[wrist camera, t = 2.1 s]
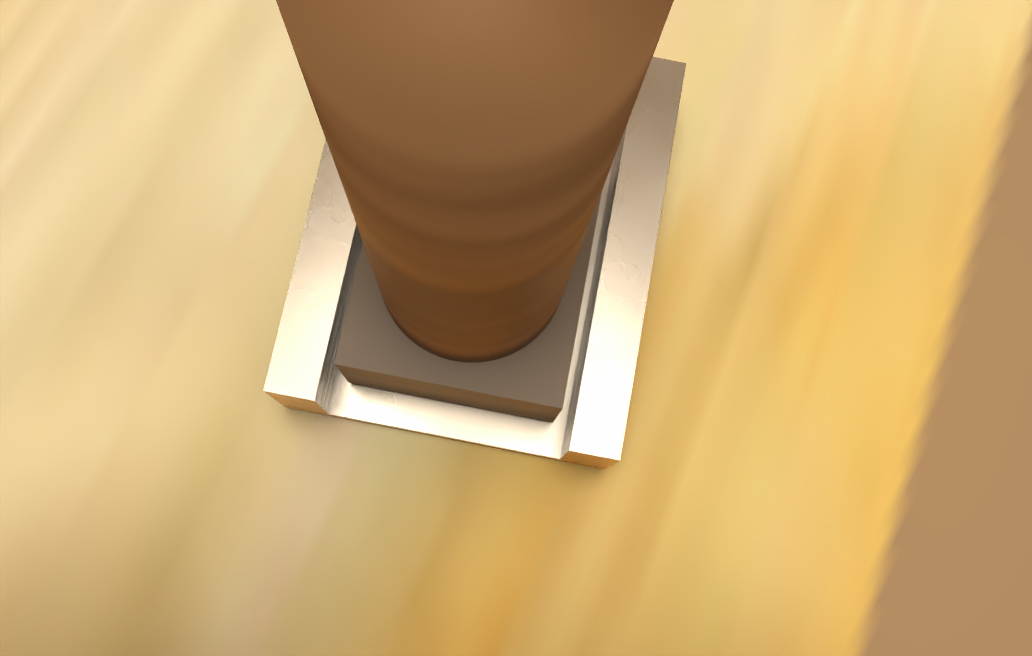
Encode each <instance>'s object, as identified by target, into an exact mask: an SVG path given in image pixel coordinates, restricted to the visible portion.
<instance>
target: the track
mask: <svg viewBox="0 0 1032 656" xmlns="http://www.w3.org/2000/svg"><path fill="white" fill-rule="evenodd" d="M685 67H686V63H682V62H676V61H671V60H666V59H661V58H656V57H652V59H651V62H650V65H649V67H648V70H647V72H646V75H645V78H644V80H643V83H642V86H641V88H640V91H639V94H638V96H637V99H636V102H635V104H634V107H633V110H632V112H631V115H630V118H629V120H628V123H627V126H626V128H625V131H624V133H623V136H622V139H621V141H620V144H619V147H618V149H617V152H616V155H615V157H614V160H613V163H612V165H611V168H610V171H609V173H608V176H607V179H606V181H605V184H604V187H603V189H602V194H601V200H600V205H599V211H598V216H597V222H596V227H595V233H594V239H593V244H592V250H591V255H590V261H589V266H588V272H587V277H586V283H585V288H584V294H583V299H582V305H581V310H580V316H579V322H578V327H577V333H576V338H575V344H574V349H573V355H572V360H571V366H570V371H569V377H568V382H567V388H566V393H565V399H564V404H563V409H562V410H561V412H560V413H559V415H558V416H557V418H556V419H555V420H554V422H553V423H551V422H546V421H540V420H535V419H530V418H525V417H520V416H515V415H510V414H505V413H500V412H494V411H489V410H484V409H479V408H474V407H469V406H464V405H459V404H453V403H448V402H443V401H438V400H433V399H428V398H423V397H418V396H413V395H407V394H402V393H397V392H392V391H387V390H382V389H377V388H372V387H366V386H361V385H356V384H351V383H349V382H348V381H347V380H346V379H345V377H344V376H343V375H342V373H341V372H340V371H339V369H338V368H337V367H336V366H335V364H334V363H335V359H336V355H337V351H338V346H339V342H340V338H341V334H342V329H343V325H344V321H345V317H346V312H347V308H348V304H349V299H350V295H351V291H352V287H353V282H354V278H355V274H356V270H357V265H358V261H359V257H360V253H361V248H362V244H363V241H362V238H361V235H360V233H359V230H358V227H357V224H356V222H355V219H354V216H353V213H352V210H351V208H350V205H349V202H348V199H347V196H346V194H345V191H344V188H343V185H342V182H341V180H340V177H339V174H338V171H337V169H336V166H335V163H334V160H333V157H332V155H331V152H330V149H329V146H328V143H327V141H325V145H324V149H323V153H322V157H321V161H320V165H319V169H318V173H317V177H316V181H315V185H314V189H313V193H312V197H311V201H310V205H309V209H308V213H307V217H306V221H305V225H304V229H303V233H302V237H301V241H300V245H299V249H298V253H297V257H296V261H295V265H294V269H293V273H292V277H291V281H290V285H289V289H288V293H287V297H286V301H285V306H284V310H283V314H282V318H281V322H280V326H279V330H278V334H277V338H276V342H275V346H274V350H273V354H272V358H271V362H270V366H269V370H268V374H267V378H266V382H265V386H264V390H263V391H264V392H266V393H267V394H268V395H270V396H271V397H273V398H274V399H275V400H277V401H278V402H279V403H281V404H282V405H284V406H285V407H289V408H294V409H300V410H305V411H310V412H315V413H320V414H325V415H330V416H335V417H341V418H346V419H351V420H356V421H361V422H366V423H371V424H376V425H382V426H387V427H392V428H397V429H402V430H407V431H412V432H417V433H422V434H428V435H433V436H438V437H443V438H448V439H453V440H458V441H463V442H469V443H474V444H479V445H484V446H489V447H494V448H499V449H504V450H510V451H515V452H520V453H525V454H530V455H535V456H540V457H545V458H551V459H556V460H561V461H566V462H571V463H576V464H581V465H586V466H591V467H597V468H602V469H605V468H607V467H609V466H611V465H613V464H614V463H616V462H618V461H620V458H621V452H622V446H623V440H624V434H625V428H626V422H627V416H628V410H629V404H630V398H631V392H632V386H633V380H634V374H635V368H636V362H637V356H638V350H639V344H640V338H641V332H642V326H643V320H644V314H645V308H646V302H647V296H648V290H649V283H650V277H651V271H652V265H653V259H654V253H655V247H656V241H657V235H658V229H659V223H660V217H661V211H662V205H663V199H664V193H665V187H666V181H667V175H668V169H669V163H670V157H671V151H672V145H673V139H674V133H675V127H676V121H677V115H678V109H679V103H680V97H681V91H682V85H683V79H684V73H685Z"/></svg>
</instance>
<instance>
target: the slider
mask: <svg viewBox="0 0 1032 656" xmlns="http://www.w3.org/2000/svg"><path fill="white" fill-rule="evenodd" d="M276 1H277V4H278V7H279V10H280V12H281V15H282V18H283V21H284V23H285V26H286V29H287V32H288V35H289V37H290V40H291V43H292V46H293V49H294V51H295V54H296V57H297V60H298V63H299V65H300V68H301V71H302V74H303V76H304V79H305V82H306V85H307V88H308V90H309V93H310V96H311V99H312V102H313V104H314V107H315V110H316V113H317V116H318V118H319V121H320V124H321V127H322V129H323V132H324V135H325V138H326V141H327V143H328V146H329V149H330V152H331V155H332V157H333V160H334V163H335V166H336V169H337V171H338V174H339V177H340V180H341V182H342V185H343V188H344V191H345V194H346V196H347V199H348V202H349V205H350V208H351V210H352V213H353V216H354V219H355V222H356V224H357V227H358V230H359V233H360V235H361V238H362V241H363V244H362V248H361V253H360V257H359V261H358V265H357V270H356V274H355V278H354V282H353V287H352V291H351V295H350V299H349V304H348V308H347V312H346V317H345V321H344V325H343V329H342V334H341V338H340V342H339V346H338V351H337V355H336V359H335V363H334V364H335V366H336V367H337V368H338V369H339V371H340V372H341V373H342V375H343V376H344V377H345V379H346V380H347V381H348V382H349V383H351V384H356V385H361V386H366V387H372V388H377V389H382V390H387V391H392V392H397V393H402V394H407V395H413V396H418V397H423V398H428V399H433V400H438V401H443V402H448V403H453V404H459V405H464V406H469V407H474V408H479V409H484V410H489V411H494V412H500V413H505V414H510V415H515V416H520V417H525V418H530V419H535V420H540V421H546V422H551V423H553V422H554V420H555V419H556V418H557V416H558V415H559V413H560V412H561V410H562V409H563V404H564V399H565V393H566V388H567V382H568V377H569V371H570V366H571V360H572V355H573V349H574V344H575V338H576V333H577V327H578V322H579V316H580V310H581V305H582V299H583V294H584V288H585V283H586V277H587V272H588V266H589V261H590V255H591V250H592V244H593V239H594V233H595V227H596V222H597V216H598V211H599V205H600V200H601V194H602V189H603V187H604V184H605V181H606V179H607V176H608V173H609V171H610V168H611V165H612V163H613V160H614V157H615V155H616V152H617V149H618V147H619V144H620V141H621V139H622V136H623V133H624V131H625V128H626V126H627V123H628V120H629V118H630V115H631V112H632V110H633V107H634V104H635V102H636V99H637V96H638V94H639V91H640V88H641V86H642V83H643V80H644V78H645V75H646V72H647V70H648V67H649V65H650V62H651V59H652V57H653V54H654V51H655V49H656V46H657V43H658V41H659V38H660V35H661V33H662V30H663V27H664V25H665V22H666V19H667V17H668V14H669V11H670V9H671V6H672V4H673V1H674V0H276Z"/></svg>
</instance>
